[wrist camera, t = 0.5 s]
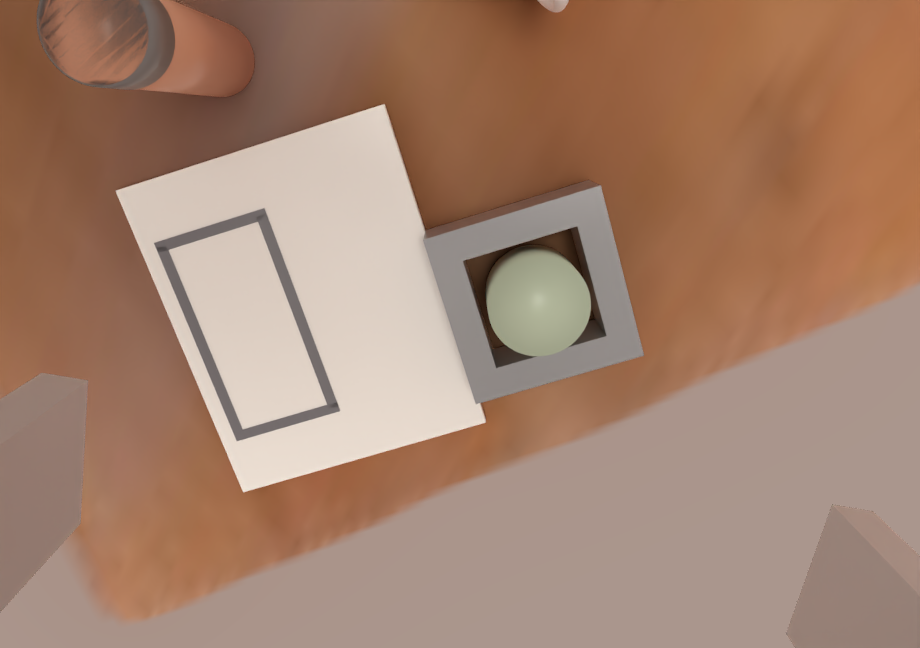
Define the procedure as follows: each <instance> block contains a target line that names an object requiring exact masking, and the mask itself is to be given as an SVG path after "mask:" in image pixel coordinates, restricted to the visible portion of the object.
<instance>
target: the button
mask: <svg viewBox="0 0 920 648" xmlns="http://www.w3.org/2000/svg"><path fill="white" fill-rule="evenodd" d="M485 297H486V304H487V310H488V316H489V320H490V323H491V326H492V328H493V330H494V332H495V334H496V335H497V336H498V338H499V339H500V340H501V341H502V342H503V343H504V344H505V345H506V346H508V347H509V348H511V349H512V350H514V351H516V352H518V353H521V354H524V355H529V356H547V355H552V354H555V353H558V352H560V351H562V350H564V349H566V348H567V347H569V346H570V345H572V344H573V343H574V342H575V341H576V340H577V339H578V338H579V337H580V335H581V334H582V332H583V331H584V329H585V327H586V325H587V323H588V320H589V317H590V312H591V298H590V293H589V290H588V287H587V285H586V283H585V281H584V279H583V278H582V276H581V275H580V273H579V272H578V271H577V270H576V269H575V267H574V266H573V265H572V264H571V262H570V261H569V260H568V259H567V258H566V257H565V256H564V255H563V254H561V253H560V252H558V251H557V250H555V249H552V248H550V247H547V246H542V245H525V246H521V247H518V248H515V249H513V250H511V251H509V252H507V253H506V254H504V255H503V256H502V257H501V258H500V259H499V260H498V261H497V262H496V263H495V264H494V266H493V267H492V269H491V271H490V273H489V275H488V278H487V281H486V287H485Z"/></svg>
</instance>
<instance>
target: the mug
mask: <svg viewBox="0 0 920 648" xmlns="http://www.w3.org/2000/svg"><path fill="white" fill-rule="evenodd" d="M568 1H569V0H538V2H539V3H541V4H542V5H543V6H544V7H545V8H546V9H548V10H550V11H552V12H560V11H562V10H563V9H564V8H565V7H566V5H567V4H568Z"/></svg>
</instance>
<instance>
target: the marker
mask: <svg viewBox="0 0 920 648" xmlns="http://www.w3.org/2000/svg"><path fill="white" fill-rule="evenodd" d="M37 29H38V34H39V38H40V41H41V44H42V46H43V48H44V50H45V53H46V54H47V56H48V57H49V59H50V60H51V62H52V63H53V64H54V65H55V66H56V67H57V68H58V69H59V70H60V71H61V72H62V73H63V74H65V75H66V76H67V77H69V78H71V79H72V80H74V81H76V82H78V83H81V84H84V85H87V86H92V87H100V88H111V89H122V90H134V89H139V90H150V91H161V92H171V93H182V94H192V95H203V96H213V97H228V96H232V95H235V94H237V93H238V92H240V91H241V90H243V89H244V88H245V87H246V86H247V84H248V83H249V82H250V80H251V78H252V75H253V72H254V65H255V59H254V53H253V50H252V47H251V45H250V43H249V41H248V39H247V38H246V37H245V35H244V34H243V33H242V32H241V31H240V30H238V29H237V28H235V27H234V26H232V25H230V24H228V23H225V22H223V21H220V20H218V19H216V18H213V17H211V16H208V15H206V14H204V13H201V12H199V11H197V10H194V9H192V8H189V7H187V6H185V5H182V4H180V3H178V2H175V1H173V0H40V2H39V5H38V10H37Z"/></svg>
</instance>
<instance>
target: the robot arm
mask: <svg viewBox="0 0 920 648" xmlns="http://www.w3.org/2000/svg"><path fill="white" fill-rule="evenodd" d="M87 390H88V380H82V379H76V378H70V377H64V376H58V375H52V374H46V373H41V374H39V375H38V376H36V377H34V378H33V379H31V380H30V381H28V382H27V383H25V384H23V385H22V386H20V387H19V388H17V389H16V390H14V391H12V392H11V393H9V394H8V395H6V396H5V397H3V398H1V399H0V612H1V611H2V610H3V609H4V608H5V606H6V605H7V604H8V603H9V602H10V601H11V600H12V599H13V598H14V596H15V595H16V594H17V593H18V592H19V591H20V590H21V589H22V588H23V587H24V585H25V584H26V583H27V582H28V581H29V580H30V579H31V578H32V577H33V576H34V574H35V573H36V572H37V571H38V570H39V569H40V568H41V567H42V566H43V564H44V563H45V562H46V561H47V560H48V559H49V558H50V556H52V555H53V553H54V552H55V551H56V550H57V549H58V548H59V547H60V546H61V545H62V543H63V542H64V541H65V540H66V539H67V538H68V537H69V536H70V535H71V534H72V532H73V531H74V530H75V529H76V528H77V527H78V526H79V525H80V522H81V503H82V484H83V465H84V447H85V428H86V409H87ZM786 634H787V636H788V637H789V639H790V641H791V642H792V644H793V645H794V647H795V648H920V556H919V555H918V554H917V553H916V552H915V551H914V550H913V549H912V548H911V547H910V546H909V545H908V544H907V543H906V542H905V541H904V540H903V539H901V538H900V537H899V536H898V535H897V534H896V533H895V532H894V531H893V530H892V529H891V528H890V527H889V526H888V525H887V524H886V523H885V522H884V521H883V520H882V519H880V518H879V517H878V516H877V515H876V514H875V513H874V512H873V511H868V510H862V509H857V508H850V507H845V506H838V505H833V504H832V506H831V509H830V512H829V514H828V517H827V520H826V523H825V526H824V529H823V531H822V534H821V537H820V540H819V543H818V545H817V548H816V551H815V554H814V557H813V559H812V562H811V565H810V568H809V571H808V574H807V576H806V579H805V582H804V585H803V587H802V590H801V593H800V596H799V599H798V601H797V604H796V607H795V610H794V613H793V616H792V618H791V621H790V624H789V627H788V630H787V632H786Z"/></svg>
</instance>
